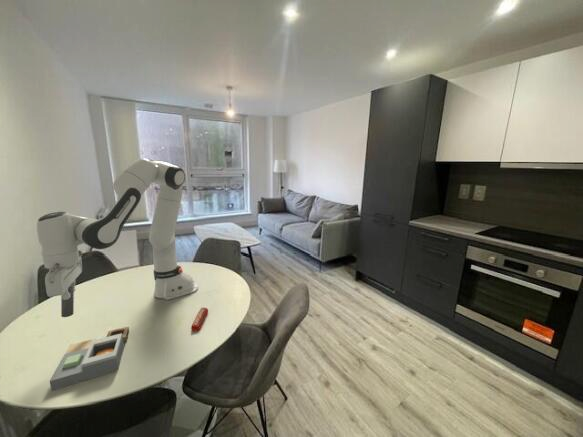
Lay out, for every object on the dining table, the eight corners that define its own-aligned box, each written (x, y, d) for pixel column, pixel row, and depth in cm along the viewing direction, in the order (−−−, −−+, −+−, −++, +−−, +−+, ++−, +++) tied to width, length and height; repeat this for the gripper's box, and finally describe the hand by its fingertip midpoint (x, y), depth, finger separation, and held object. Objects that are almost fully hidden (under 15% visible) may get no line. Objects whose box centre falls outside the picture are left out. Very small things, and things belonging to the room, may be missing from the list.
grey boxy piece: (124, 346, 91) (122, 333, 90) (118, 370, 80) (115, 355, 79) (66, 362, 83) (63, 347, 82) (51, 390, 73) (47, 374, 72)
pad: (96, 340, 94) (96, 338, 94) (90, 354, 87) (90, 352, 87) (70, 346, 91) (70, 344, 90) (62, 361, 84) (61, 359, 83)
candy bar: (198, 332, 100) (198, 326, 99) (189, 333, 99) (189, 326, 99) (209, 310, 115) (208, 305, 115) (201, 310, 115) (201, 305, 114)
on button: (82, 360, 82) (81, 353, 81) (79, 368, 79) (77, 360, 78) (69, 364, 80) (67, 356, 80) (65, 372, 77) (63, 364, 77)
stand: (129, 331, 99) (128, 326, 99) (126, 342, 93) (125, 336, 93) (109, 336, 96) (108, 331, 96) (105, 347, 90) (104, 342, 90)
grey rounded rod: (74, 311, 87) (75, 286, 86) (71, 316, 84) (71, 290, 83) (63, 312, 86) (63, 287, 84) (59, 317, 83) (59, 291, 81)
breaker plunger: (116, 353, 87) (115, 346, 86) (113, 363, 82) (112, 356, 82) (98, 357, 85) (97, 350, 84) (94, 368, 80) (93, 361, 80)
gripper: (61, 268, 74) (70, 308, 76) (83, 249, 91) (89, 281, 94) (34, 272, 71) (43, 313, 74) (61, 251, 89) (68, 284, 91)
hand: (69, 295), depth 84 cm, fingers closed on grey rounded rod, 3 cm apart
